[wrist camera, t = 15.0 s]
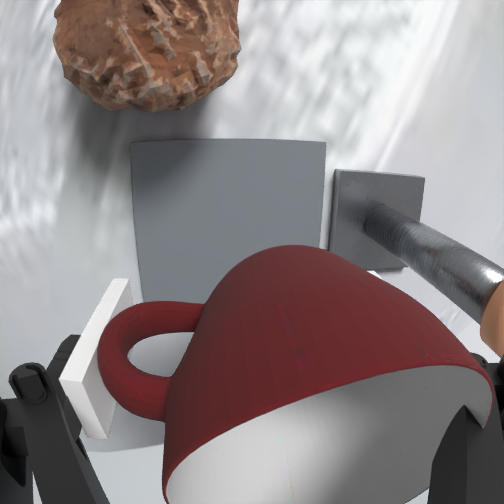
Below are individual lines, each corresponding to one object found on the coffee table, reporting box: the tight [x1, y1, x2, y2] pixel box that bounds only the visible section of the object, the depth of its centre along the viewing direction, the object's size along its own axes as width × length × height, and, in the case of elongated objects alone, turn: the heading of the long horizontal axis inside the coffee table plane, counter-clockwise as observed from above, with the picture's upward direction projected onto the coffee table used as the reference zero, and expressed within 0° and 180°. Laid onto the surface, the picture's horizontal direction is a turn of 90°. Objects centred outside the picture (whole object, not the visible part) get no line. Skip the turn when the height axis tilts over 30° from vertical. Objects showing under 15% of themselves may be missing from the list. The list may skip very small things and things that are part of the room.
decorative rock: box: [53, 0, 241, 113], centre depth 14 cm, size 13×11×10 cm
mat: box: [130, 139, 326, 304], centre depth 24 cm, size 14×14×1 cm
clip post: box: [329, 169, 504, 325], centre depth 18 cm, size 8×8×14 cm
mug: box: [97, 245, 494, 504], centre depth 10 cm, size 11×8×10 cm
